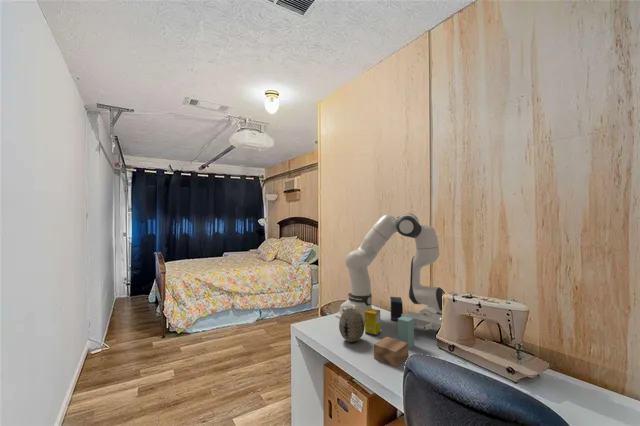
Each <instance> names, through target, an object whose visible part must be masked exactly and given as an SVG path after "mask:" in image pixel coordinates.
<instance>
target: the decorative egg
mask: <svg viewBox="0 0 640 426" xmlns="http://www.w3.org/2000/svg"><path fill="white" fill-rule="evenodd" d="M338 329H339V332H340V333H339V334H340V336H341V337H342V338H343V339H344V340H346V341H348V342H351V343H353V342H357V341H359V340H361V338H362V337H363V335H364V334H365V323H364V321H363V318H362V315H361V314H360V313H359V311H357V310H356V309H354V308H349V309H346V310H345V311H344V312H343V313H342V315H341V317H340V318H339V321H338Z"/></svg>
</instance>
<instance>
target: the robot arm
mask: <svg viewBox="0 0 640 426" xmlns="http://www.w3.org/2000/svg"><path fill="white" fill-rule="evenodd" d="M397 232H398V234H399V235H401V236H403V237H406V238H412V239H414V241H415V249H416V251H415V255H414V256H413V257H412V258H411V261H410V277H409V279H410V281H409V290H408V297H409V300H410V301H411V302H412V303H413V305H424V306H426V307H425V308H423V309H421V310H420V311H419V312H415V311H406V312H403V314H402V315H401V317H402V316H406V317H410V318H413V319H414V325H415V326H419V327H423V330H425V331H428V330H433V331H436V332H437V331H438V329H439V328H440V326H441V322H442V296H443V295H444V294H446V293H445V290H443V288H442V287H440V286H439V287H438V286H431V285H430V286H427V285H422V284H421V270H422V268H423V267H425V266H428V265H431V264H433V263H435V262H437V261H438V259H439V256H440V245H439V240H438V236H437V232H436V230H435V228H434V227H433V226H432V225H427V224H426V225H424V224H420V221H419V218H418V217H417V216H416V215H415V214H414V213H404V214H402V215H398V216H397V217H396V216H394V215H392V214H390V213H389V214H387V213H386V214H384V215H382V216H381V217H380V218H379V219H378V220H377V221H376V222H375V223H374V225H372V227H371V229H369V231H368V232H367V233H366V234H365V236H364V238H363V239H362V241H361V242H360V243H361V244H360V245H359V247H357V248H356V249H355V250H352V251H350V252H349V253H348V254H347V256H346V257H345V265H346V268H347V269H348V273H349V278H350V292H349V293H347V297H348V299H347V300H345V301H344V302H343V303H341V305H340V306H339V311H338V312H336V314H335V317H337V318H338V319H340V317H341V315H342V313H343V312H344V311H345V310H346V309H349V308H354V309H356V310H357V311H359V313H360V314H361V315H362V318H363V321H364V324H365V311H366V310H368V309H369V308H371V309H373V307H372V305H373V304H372V303H373V300H372V299H373V298H372V297H373V295H372V293H371V291H372V290H371V289H372V288H371V286H372V285H371V278H370V275H369V271H368V266H370V265H371V264H372V263H373V261H374V260H375V258H376V257H377V256H378V254H379V252H380V251H382V250H381V249H383V248H384V246H385V245H386V244H387V242H389V240H390V239H391V237H393V235H395V233H397ZM438 332H439V331H438Z"/></svg>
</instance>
